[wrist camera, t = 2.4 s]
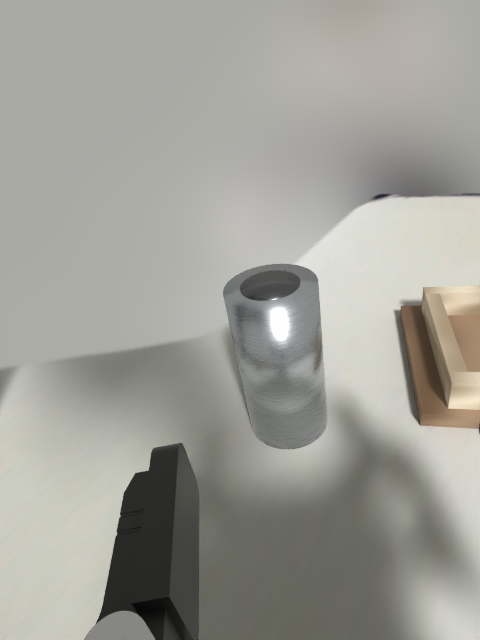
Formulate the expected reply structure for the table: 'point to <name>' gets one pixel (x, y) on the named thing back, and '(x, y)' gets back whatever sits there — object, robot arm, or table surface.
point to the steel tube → (279, 352)
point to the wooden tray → (445, 355)
